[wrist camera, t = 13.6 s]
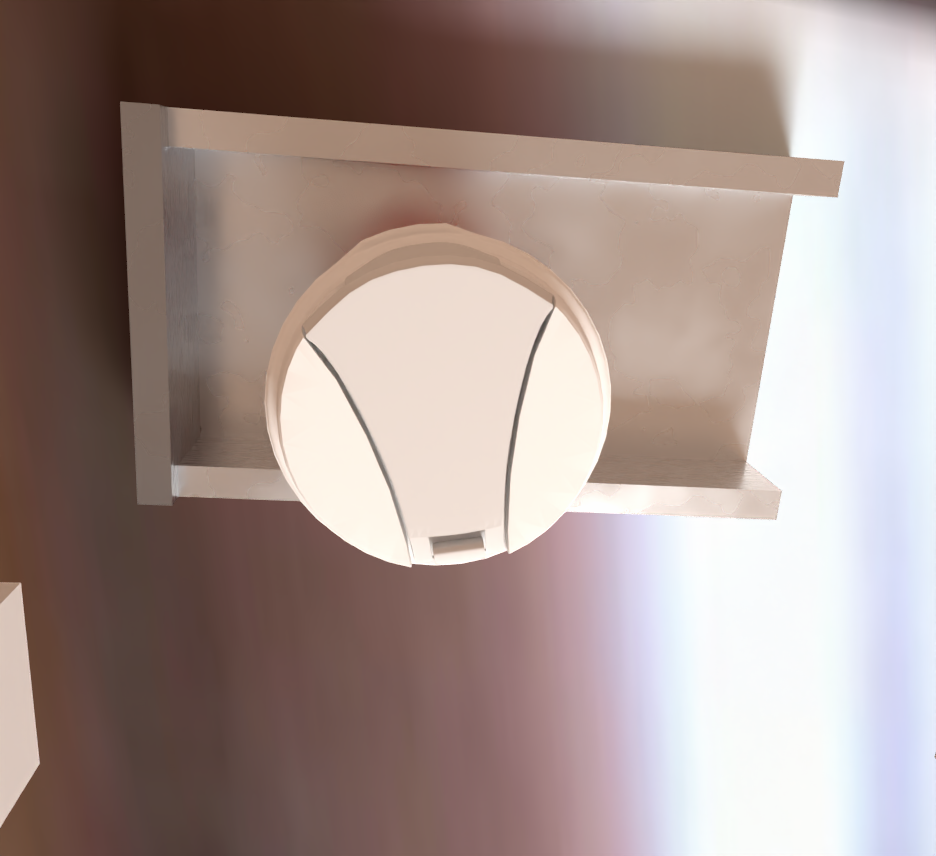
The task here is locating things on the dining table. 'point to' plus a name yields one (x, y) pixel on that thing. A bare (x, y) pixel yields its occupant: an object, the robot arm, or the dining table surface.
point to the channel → (476, 210)
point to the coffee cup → (437, 396)
